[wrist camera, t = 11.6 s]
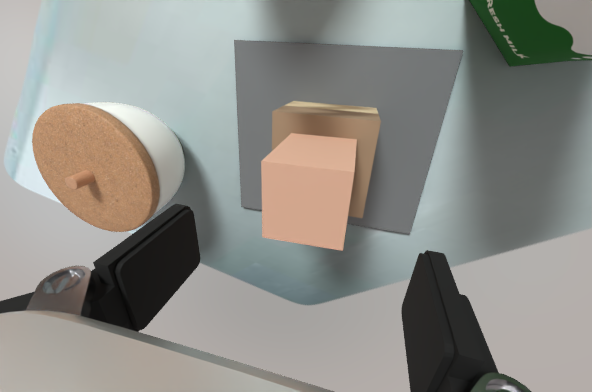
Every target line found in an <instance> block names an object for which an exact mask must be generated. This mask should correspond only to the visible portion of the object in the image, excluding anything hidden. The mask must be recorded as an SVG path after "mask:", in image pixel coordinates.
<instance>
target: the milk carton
mask: <svg viewBox="0 0 592 392" xmlns="http://www.w3.org/2000/svg"><path fill="white" fill-rule="evenodd" d="M469 1H470V2H471V4H472V6H473V7H474V9H475V11H476V12H477V14H478V15H479V17H480V19H481V20H482V22H483V24H484V25H485V27H486V29H487V30H488V32H489V33H490V35H491V37H492V38H493V40H494V42H495V43H496V45H497V47H498V48H499V50H500V52H501V53H502V55H503V56H504V58H505V60H506V61H507V63H508V65H509V66H520V65H531V64H542V63H553V62H563V61H580V60H592V0H469Z"/></svg>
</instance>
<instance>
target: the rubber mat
mask: <svg viewBox="0 0 592 392" xmlns="http://www.w3.org/2000/svg"><path fill="white" fill-rule="evenodd" d="M234 47H235V70H236V93H237V116H238V139H239V161H240V184H241V207H246V208H252V209H258V210H262V177H261V161H262V160H263V159H264V158H265V157H266V156H267V155H268V154H270V153H271V152H272V111H274V110H276V109H278V108H280V107H282V106H284V105H286V104H288V103H290V102H292V101H300V102H312V103H324V104H336V105H347V106H359V107H371V108H377V111H378V114H379V117H380V120H381V123H380V129H379V134H378V139H377V144H376V150H375V155H374V160H373V165H372V171H371V176H370V181H369V186H368V192H367V197H366V202H365V207H364V213H363V218H358V217H352V216H348V219H347V224H351V225H358V226H364V227H370V228H376V229H383V230H389V231H395V232H401V233H408V234H410V231H411V228H412V225H413V221H414V218H415V214H416V211H417V207H418V204H419V201H420V197H421V194H422V190H423V187H424V184H425V180H426V177H427V173H428V170H429V166H430V163H431V160H432V156H433V153H434V149H435V146H436V142H437V139H438V136H439V132H440V129H441V125H442V122H443V118H444V115H445V112H446V108H447V105H448V101H449V98H450V94H451V91H452V88H453V84H454V81H455V77H456V74H457V70H458V67H459V64H460V60H461V57H462V53H463V50H442V49H420V48H398V47H376V46H354V45H332V44H310V43H288V42H266V41H244V40H234Z"/></svg>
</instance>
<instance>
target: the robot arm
mask: <svg viewBox="0 0 592 392" xmlns="http://www.w3.org/2000/svg"><path fill="white" fill-rule="evenodd" d="M93 263H94V266H95V269H94V270H92V271H91V270H90V269H89V268H87V267H85V266H71V267H67V268H64V269H60V270H58V271H56V272H54V273H52V274H50V275H49V276H47V277H46V278H44V279H43V280H42V281H41V282H40V283H39V285H38V286H37V288H36V290H35V292H32V293H29V294H25V295H21V296H18V297H14V298H11V299H7V300H3V301H0V392H334V391H330V390H327V389H324V388H321V387H318V386H314V385H311V384H308V383H305V382H301V381H298V380H295V379H292V378H288V377H285V376H282V375H279V374H275V373H272V372H269V371H266V370H263V369H259V368H256V367H253V366H249V365H246V364H243V363H239V362H236V361H233V360H230V359H226V358H223V357H219V356H216V355H213V354H210V353H206V352H203V351H200V350H197V349H193V348H190V347H186V346H183V345H180V344H177V343H173V342H170V341H166V340H163V339H160V338H156V337H153V336H150V335H146V334H143V333H139V332H138V331H139V330H142V329H144V328H145V327H146V326H147V325H148V324H149V323H150V321H151V320H152V319H153V318H154V317H155V315H156V314H157V313H158V312H159V311H160V310H161V309H162V307H163V306H164V305H165V304H166V303H167V302H168V300H169V299H170V298H171V297H172V296H173V295H174V293H175V292H176V291H177V290H178V289H179V288H180V286H181V285H182V284H183V283H184V282H185V281H186V279H187V278H188V277H189V276H190V275H191V274H192V272H193V271H194V270H195V269H196V268H197V266H198V265H199V263H200V253H199V246H198V240H197V233H196V226H195V219H194V213H193V211H192V210H191V209H190V207H188V206H184V205H179V204H175V205H173V206H171V207H170V208H169V209H167V210H166V211H164V212H163V213H162V214H160V215H159V216H157V217H156V218H155V219H153V220H152V221H150V222H149V223H148V224H146V225H145V226H143V227H142V228H141V229H139V230H138V231H136V232H135V233H134V234H132V235H131V236H129V237H128V238H127V239H125V240H124V241H123V242H121V243H120V244H118V245H117V246H116V247H114V248H113V249H111V250H110V251H109V252H107V253H106V254H104V255H103V256H102V257H100V258H99V259H97V260H96V261H95V262H93ZM402 321H403V330H404V338H405V347H406V356H407V364H408V373H409V381H410V390H411V392H531V391H530V390H529V389H528V388H527V387H526V386H524V385H523V384H521V383H520V382H518V381H517V380H515V379H513V378H511V377H509V376H507V375H504V374H499V373H498V370H497V368H496V365H495V363H494V360H493V358H492V355H491V353H490V351H489V348H488V346H487V343H486V341H485V338H484V336H483V333H482V331H481V328H480V326H479V323H478V321H477V319H476V316H475V314H474V311H473V309H472V306H471V304H470V302H469V300H468V298H467V297H466V296H465V295H461V294H459V291H458V289H457V286H456V283H455V281H454V278H453V275H452V273H451V270H450V267H449V265H448V262H447V259H446V257H445V255H444V254H443V253H439V252H433V251H428V250H427V251H426V252H425V253H424V254H422V253H420V254H419V256H418V259H417V262H416V265H415V268H414V271H413V274H412V277H411V280H410V283H409V286H408V289H407V292H406V296H405V298H404V301H403V304H402Z"/></svg>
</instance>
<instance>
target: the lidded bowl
mask: <svg viewBox="0 0 592 392" xmlns="http://www.w3.org/2000/svg"><path fill="white" fill-rule="evenodd" d="M32 143H33V152H34V156H35V160H36V163H37V166H38V168H39V171H40V173H41V175H42V177H43V179H44V180H45V182H46V183H47V185H48V187H49V188H50V190H51V191H52V192H53V193H54V195H55V196H56V197H57V198H58V199H59V200H60V202H61V203H62V204H63V205H64V206H65V207H67V208H68V209H69V210H70V211H71V212H72V213H74V214H75V215H76V216H77V217H79V218H81V219H82V220H84V221H85V222H87V223H89V224H91V225H93V226H95V227H98V228H101V229H104V230H108V231H115V232H124V231H130V230H134V229H136V228H138V227H139V226H141V225H143V224H144V223H145V222H146V221H147V220H149V219H150V218H151V217H152V216H153V215H154V214H155V213H157V212H158V211H159V210H160V209H162V208H163V207H164V206H165V205H166V204H167V203H168V202H169V201H170V200H171V199H172V197H173V196H174V195H175V193H176V192H177V191H178V189H179V187H180V185H181V182H182V180H183V176H184V171H185V160H184V154H183V149H182V146H181V143H180V141H179V139H178V138H177V136H176V135H175V133H174V132H173V131H172V130H171V129H170V128H169V127H168V126H167V125H166V124H165V123H164V122H163V121H162V120H161V119H159V118H158V117H156V116H155V115H153V114H152V113H150V112H148V111H146V110H144V109H141V108H138V107H135V106H132V105H128V104H121V103H114V102H96V103H84V104H80V103H75V104H62V105H58V106H54V107H51V108H50V109H48V110H46V111H45V112H44V113H43V114H42V115H41V116H40V117H39V118H38V120H37V122H36V124H35V127H34V131H33V139H32Z"/></svg>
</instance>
